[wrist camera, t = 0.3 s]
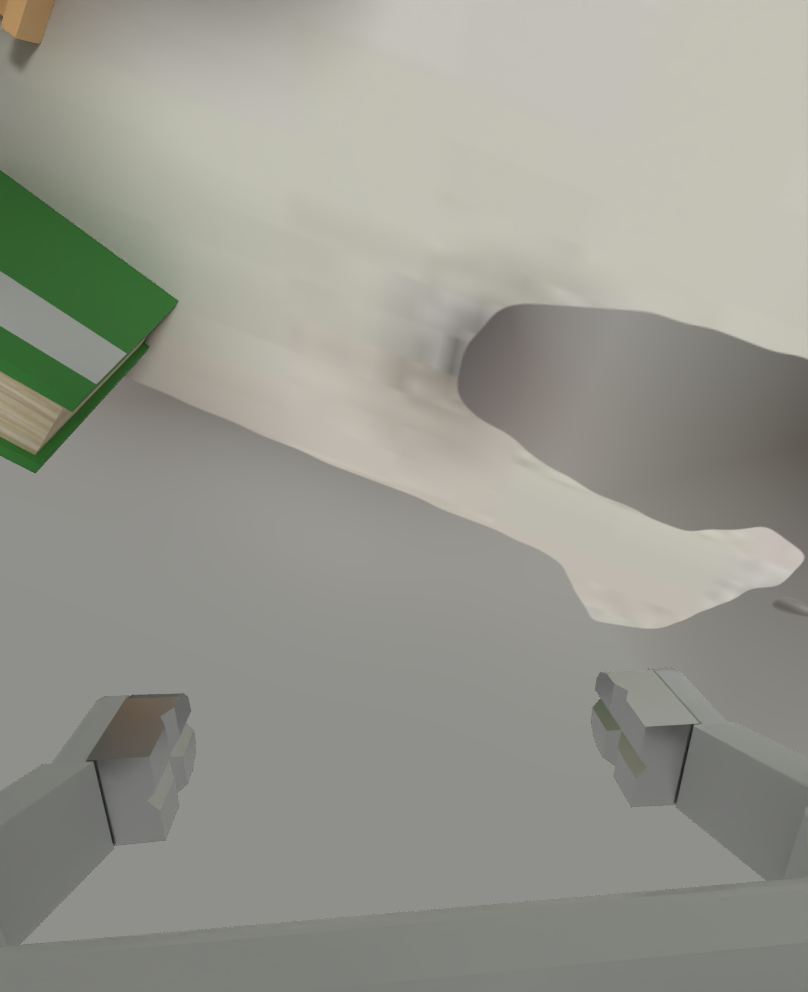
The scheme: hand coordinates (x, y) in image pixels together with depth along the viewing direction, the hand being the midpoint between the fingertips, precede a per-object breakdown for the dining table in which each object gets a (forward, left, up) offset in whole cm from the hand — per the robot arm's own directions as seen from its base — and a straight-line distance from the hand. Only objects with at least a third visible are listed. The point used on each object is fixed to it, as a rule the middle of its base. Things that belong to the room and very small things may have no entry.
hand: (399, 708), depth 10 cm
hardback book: (+21, -20, -51) cm, 59 cm away
